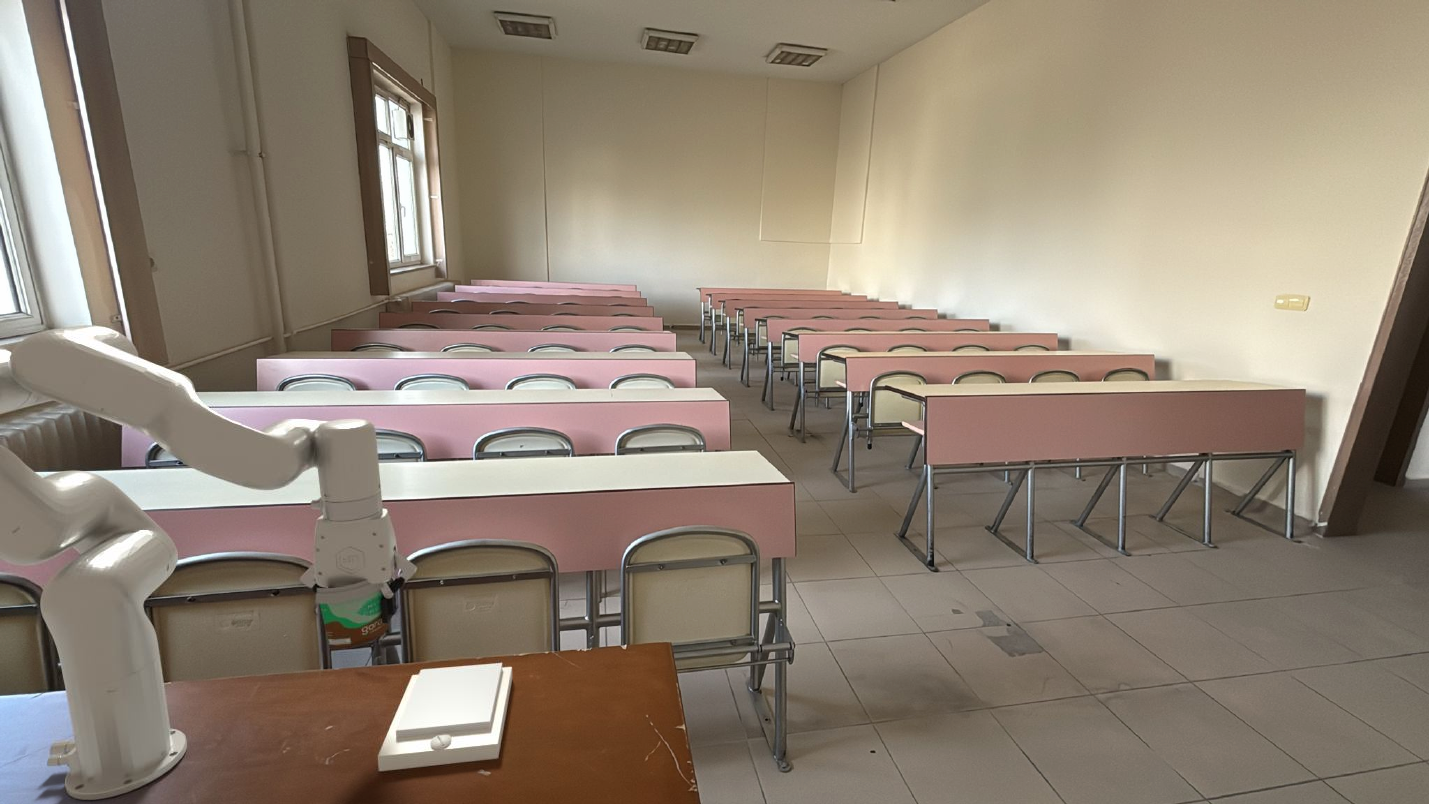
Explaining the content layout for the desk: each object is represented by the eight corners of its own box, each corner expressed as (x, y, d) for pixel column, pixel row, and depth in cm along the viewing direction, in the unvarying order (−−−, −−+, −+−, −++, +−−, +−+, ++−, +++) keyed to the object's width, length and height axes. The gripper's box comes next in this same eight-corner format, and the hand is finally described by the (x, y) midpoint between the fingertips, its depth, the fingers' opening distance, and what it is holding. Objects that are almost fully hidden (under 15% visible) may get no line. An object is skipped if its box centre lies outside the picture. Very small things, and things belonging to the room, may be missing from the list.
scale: (378, 771, 91) (377, 748, 90) (413, 688, 109) (412, 668, 108) (498, 758, 94) (497, 736, 93) (512, 679, 112) (511, 660, 112)
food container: (361, 659, 90) (353, 594, 88) (322, 654, 91) (313, 590, 89) (415, 613, 102) (409, 554, 100) (380, 609, 103) (373, 551, 101)
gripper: (273, 519, 87) (288, 640, 91) (410, 511, 91) (420, 629, 94) (297, 500, 95) (310, 613, 98) (423, 494, 98) (431, 603, 102)
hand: (364, 619), depth 96 cm, fingers closed on food container, 6 cm apart
